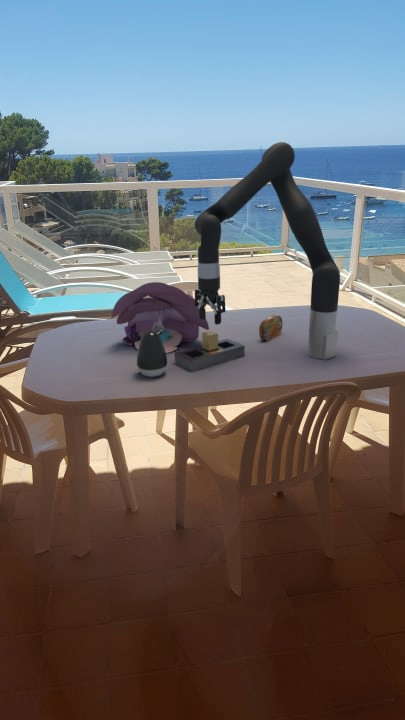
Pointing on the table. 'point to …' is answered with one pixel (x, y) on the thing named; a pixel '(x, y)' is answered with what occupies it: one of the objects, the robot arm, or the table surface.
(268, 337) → the tin
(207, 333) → the square peg
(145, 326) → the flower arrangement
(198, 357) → the hole rail
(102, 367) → the table surface
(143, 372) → the aroma diffuser
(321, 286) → the robot arm
